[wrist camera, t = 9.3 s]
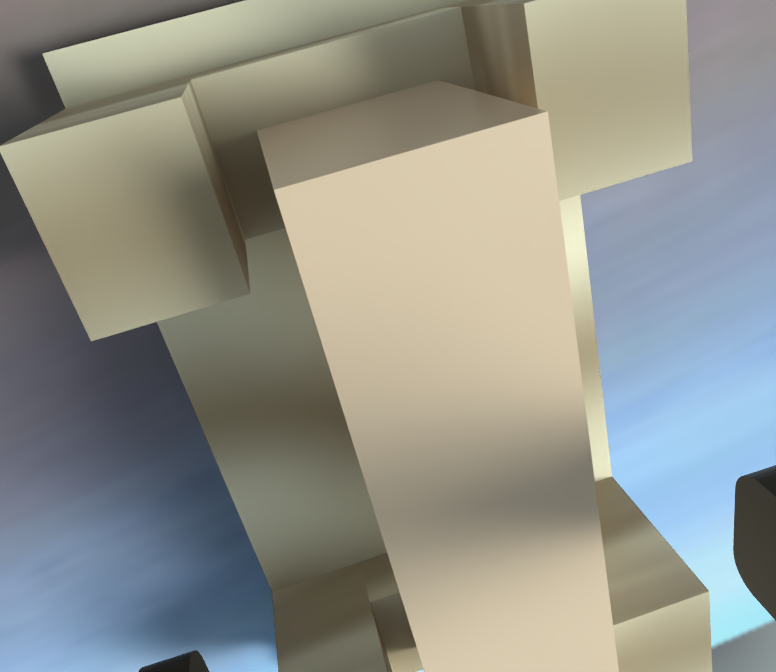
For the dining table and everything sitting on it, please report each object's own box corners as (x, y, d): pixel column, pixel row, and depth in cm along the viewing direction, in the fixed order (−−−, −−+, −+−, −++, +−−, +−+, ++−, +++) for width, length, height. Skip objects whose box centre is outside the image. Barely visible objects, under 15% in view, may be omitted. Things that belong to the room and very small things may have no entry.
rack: (53, 51, 14) (-40, 69, 9) (529, -74, 15) (680, -120, 10) (309, 659, 22) (333, 845, 17) (607, 555, 23) (713, 703, 18)
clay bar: (256, 130, 13) (273, 189, 8) (438, 79, 13) (547, 111, 9) (417, 646, 19) (476, 839, 15) (538, 604, 19) (632, 779, 15)
